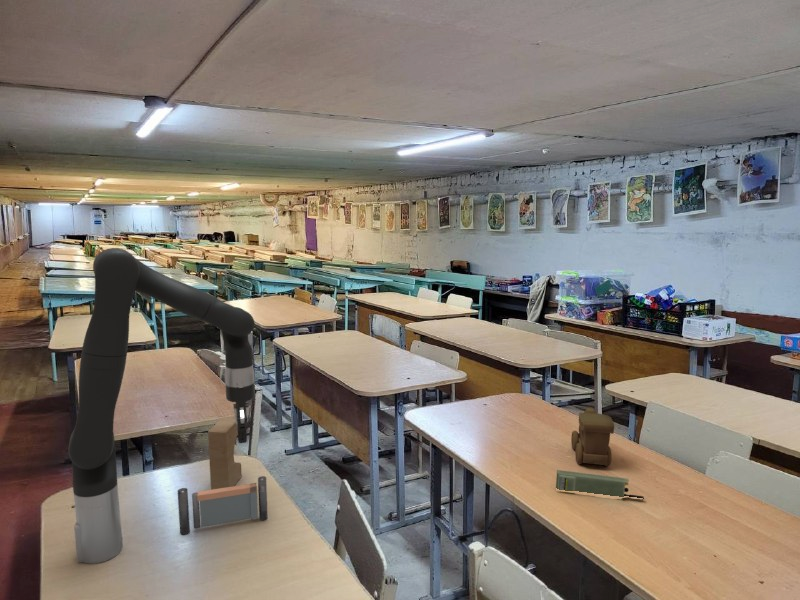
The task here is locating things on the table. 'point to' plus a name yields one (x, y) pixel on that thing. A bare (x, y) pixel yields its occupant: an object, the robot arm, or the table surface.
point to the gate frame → (185, 508)
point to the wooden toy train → (593, 438)
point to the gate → (225, 505)
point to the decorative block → (223, 454)
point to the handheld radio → (592, 483)
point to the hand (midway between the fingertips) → (242, 441)
